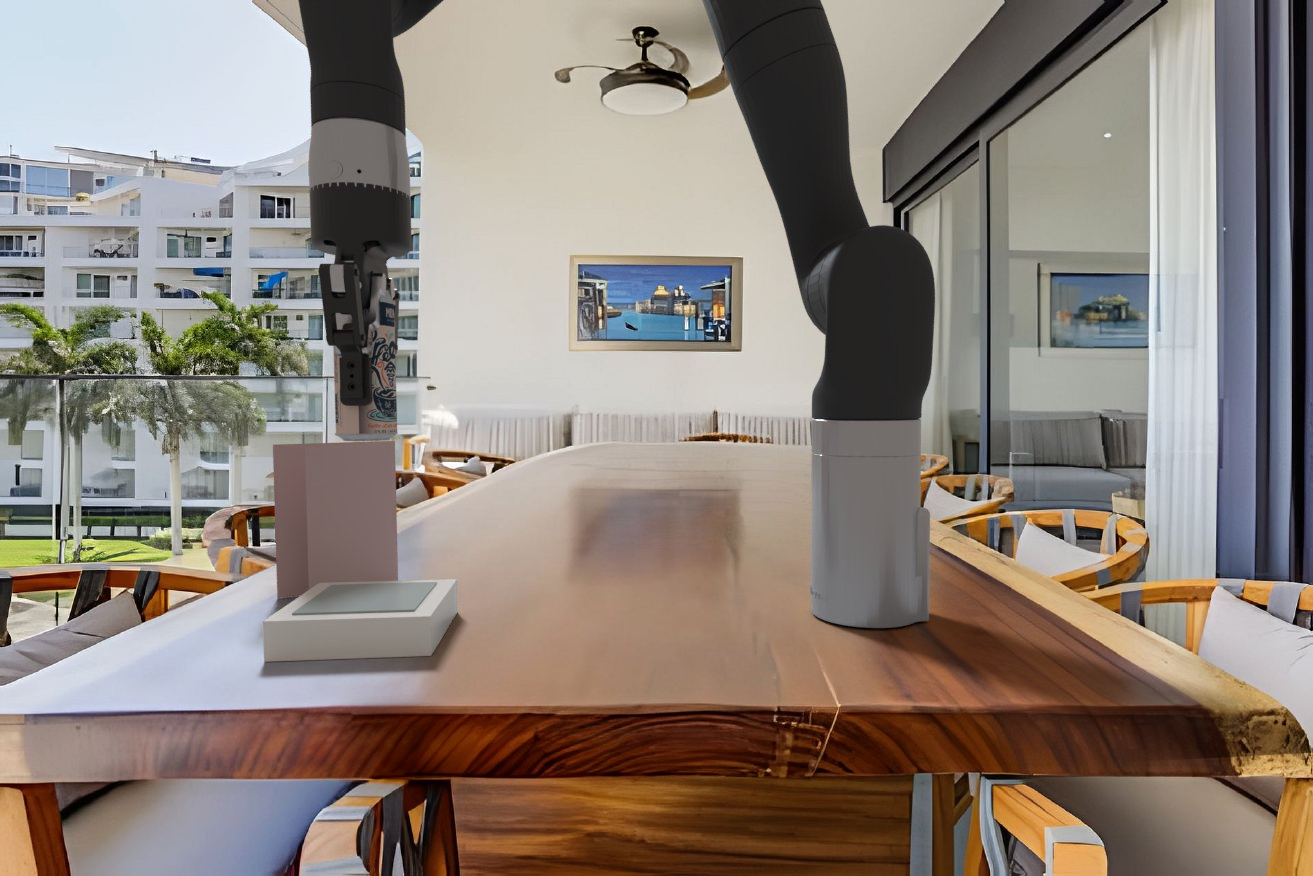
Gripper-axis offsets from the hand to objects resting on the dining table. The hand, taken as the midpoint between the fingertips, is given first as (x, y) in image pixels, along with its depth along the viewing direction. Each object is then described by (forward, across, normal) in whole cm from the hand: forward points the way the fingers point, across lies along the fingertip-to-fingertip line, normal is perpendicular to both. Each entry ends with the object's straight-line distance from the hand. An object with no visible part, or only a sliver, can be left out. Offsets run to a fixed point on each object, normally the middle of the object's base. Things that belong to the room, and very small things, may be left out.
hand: (366, 404), depth 62 cm
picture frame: (+19, 0, 0) cm, 19 cm away
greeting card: (+19, +13, +6) cm, 24 cm away
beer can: (+3, 0, 0) cm, 3 cm away
